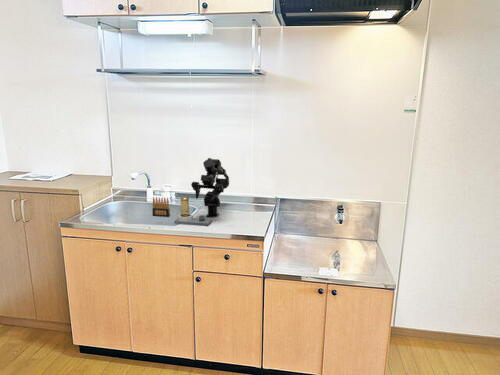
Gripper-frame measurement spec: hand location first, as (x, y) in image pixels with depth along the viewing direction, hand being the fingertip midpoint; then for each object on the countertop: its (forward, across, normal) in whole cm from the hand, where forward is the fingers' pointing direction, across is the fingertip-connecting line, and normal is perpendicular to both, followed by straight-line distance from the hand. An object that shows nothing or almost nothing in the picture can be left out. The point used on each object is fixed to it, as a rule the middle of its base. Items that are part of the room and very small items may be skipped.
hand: (203, 199), depth 214 cm
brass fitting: (+11, -10, +6) cm, 16 cm away
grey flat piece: (+12, -6, +8) cm, 15 cm away
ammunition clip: (+8, -29, +12) cm, 32 cm away
